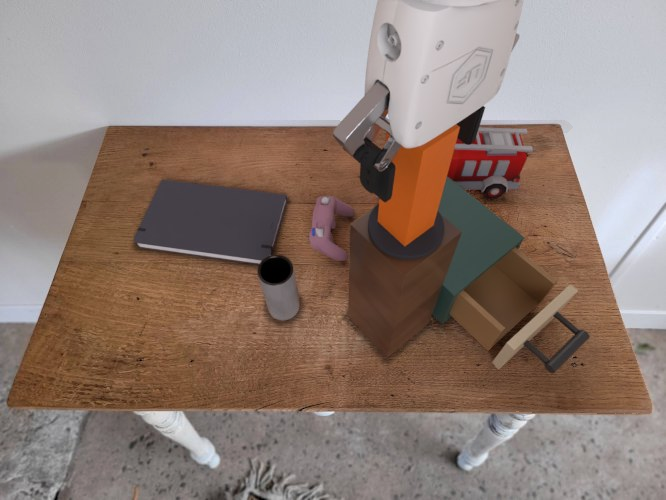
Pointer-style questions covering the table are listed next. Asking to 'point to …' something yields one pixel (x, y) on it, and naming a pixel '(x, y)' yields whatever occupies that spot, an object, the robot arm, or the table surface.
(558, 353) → the drawer
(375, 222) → the coaster
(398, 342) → the stand
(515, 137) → the toy fire truck
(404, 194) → the block
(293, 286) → the planter
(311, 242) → the video game controller
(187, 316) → the table surface
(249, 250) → the notebook
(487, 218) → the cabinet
